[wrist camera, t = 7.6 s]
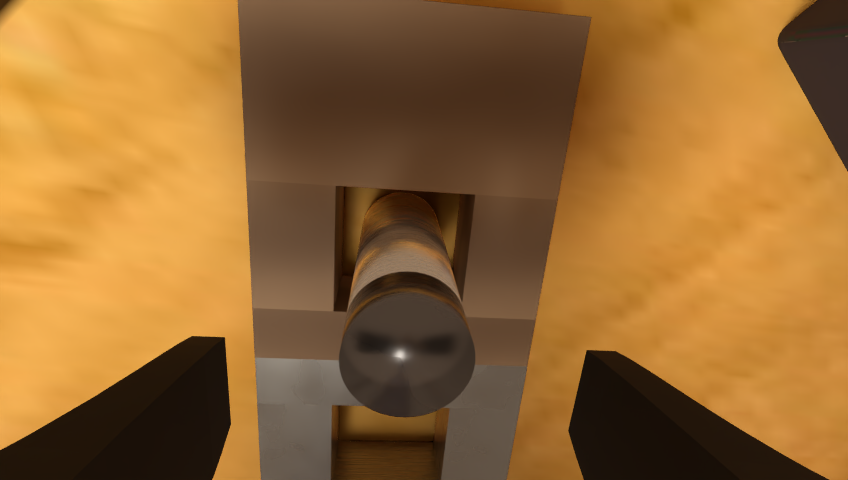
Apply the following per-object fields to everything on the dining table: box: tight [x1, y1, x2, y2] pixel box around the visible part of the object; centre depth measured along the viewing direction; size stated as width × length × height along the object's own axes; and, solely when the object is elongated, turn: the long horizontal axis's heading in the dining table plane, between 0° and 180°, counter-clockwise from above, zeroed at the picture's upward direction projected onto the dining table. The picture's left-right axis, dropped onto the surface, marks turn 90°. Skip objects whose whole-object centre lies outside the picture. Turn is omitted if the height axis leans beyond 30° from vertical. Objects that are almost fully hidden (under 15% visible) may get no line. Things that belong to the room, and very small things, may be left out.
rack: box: [238, 0, 591, 366], centre depth 17 cm, size 12×10×3 cm
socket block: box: [255, 358, 527, 480], centre depth 21 cm, size 12×10×3 cm
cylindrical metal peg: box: [339, 192, 476, 417], centre depth 15 cm, size 3×3×9 cm
